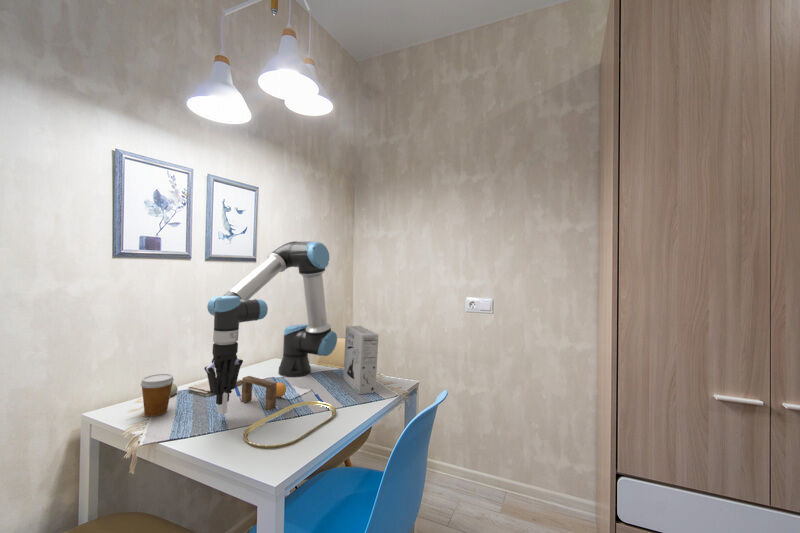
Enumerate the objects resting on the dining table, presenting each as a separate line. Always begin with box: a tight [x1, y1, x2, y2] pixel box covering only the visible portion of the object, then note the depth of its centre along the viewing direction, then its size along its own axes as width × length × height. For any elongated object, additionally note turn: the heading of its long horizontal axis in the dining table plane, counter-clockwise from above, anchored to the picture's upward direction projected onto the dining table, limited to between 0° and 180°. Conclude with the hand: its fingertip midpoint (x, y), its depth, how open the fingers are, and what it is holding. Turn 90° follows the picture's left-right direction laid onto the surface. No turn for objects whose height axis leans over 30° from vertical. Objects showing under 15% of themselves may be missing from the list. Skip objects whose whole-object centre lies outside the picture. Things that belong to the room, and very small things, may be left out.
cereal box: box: [342, 325, 379, 395], centre depth 155 cm, size 22×8×25 cm, turn 27°
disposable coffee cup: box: [140, 373, 175, 417], centre depth 119 cm, size 10×10×12 cm
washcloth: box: [187, 378, 242, 398], centre depth 144 cm, size 12×18×3 cm, turn 159°
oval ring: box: [242, 400, 337, 449], centre depth 116 cm, size 19×35×2 cm, turn 156°
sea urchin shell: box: [170, 382, 178, 397], centre depth 134 cm, size 9×8×8 cm
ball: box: [276, 382, 286, 398], centre depth 138 cm, size 6×6×6 cm
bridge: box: [240, 375, 278, 411], centre depth 129 cm, size 3×14×9 cm, turn 64°
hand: (222, 412), depth 116 cm, fingers closed
